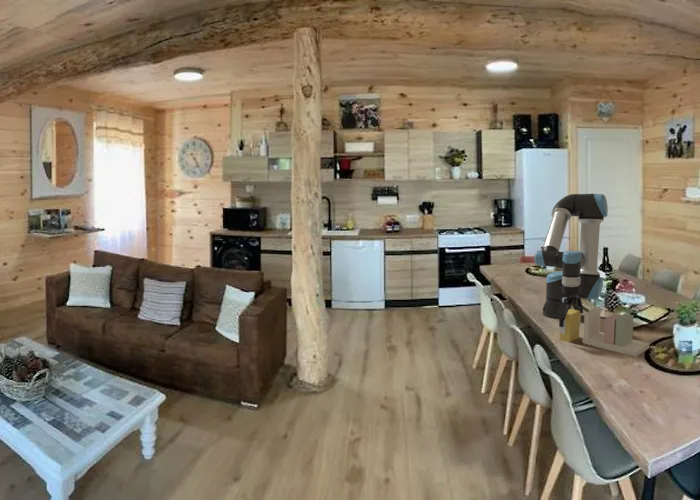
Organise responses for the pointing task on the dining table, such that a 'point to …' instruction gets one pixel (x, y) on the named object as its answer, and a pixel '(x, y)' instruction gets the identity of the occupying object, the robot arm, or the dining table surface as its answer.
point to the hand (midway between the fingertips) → (569, 329)
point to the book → (571, 326)
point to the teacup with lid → (603, 315)
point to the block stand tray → (612, 333)
